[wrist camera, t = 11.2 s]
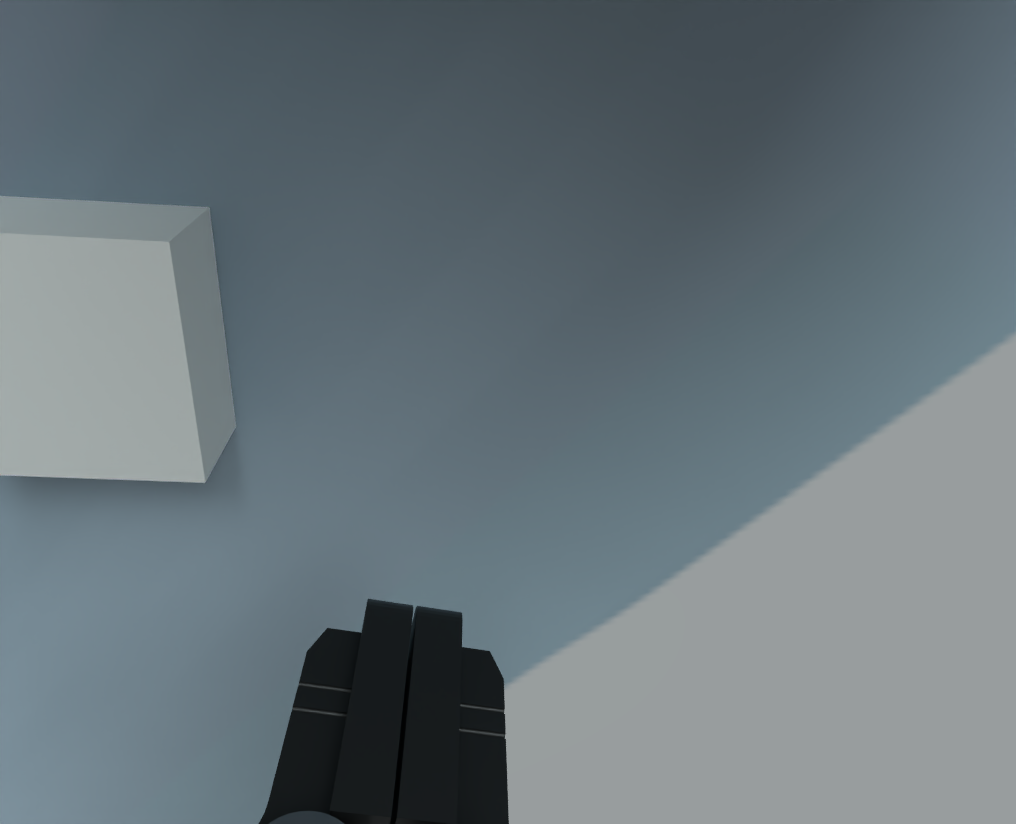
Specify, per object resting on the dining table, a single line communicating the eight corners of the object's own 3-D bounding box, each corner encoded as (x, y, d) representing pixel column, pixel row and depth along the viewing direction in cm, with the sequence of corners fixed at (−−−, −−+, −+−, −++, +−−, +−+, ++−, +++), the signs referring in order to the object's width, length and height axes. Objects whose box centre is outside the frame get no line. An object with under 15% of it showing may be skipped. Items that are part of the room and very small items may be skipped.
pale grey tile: (-47, 189, 19) (-134, 225, 16) (212, 204, 19) (169, 241, 16) (15, 412, 21) (-51, 473, 19) (239, 421, 22) (205, 482, 19)
